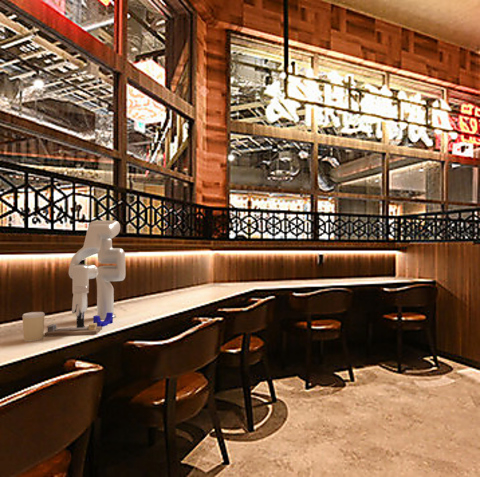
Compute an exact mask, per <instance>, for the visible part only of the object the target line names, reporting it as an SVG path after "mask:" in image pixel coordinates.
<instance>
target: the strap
mask: <svg viewBox="0 0 480 477" xmlns="http://www.w3.org/2000/svg"><path fill="white" fill-rule="evenodd" d="M87 329H89V325H85V324H84V326H83V327H77V325H76V326H58V327H57V328H56V329H55V331H64V330H87Z"/></svg>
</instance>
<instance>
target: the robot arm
mask: <svg viewBox="0 0 480 477" xmlns="http://www.w3.org/2000/svg"><path fill="white" fill-rule="evenodd" d="M120 230H121V224H120V223H119V221H117V220H92V221H91V222H89V226H88V227H87V230H86V233H85V234H86V235H85V237H84V238H85V239H84V242H83V246H82V248H80V249H79V250H77V252H76V253H74V255H72V258H71V260H70V264H69V267H68V276H69V278H70V279H72V294H73V296H72V304H71V305H72V307H71V313H72V314H75V317H76V326H77V327H83V326H84V325H85V313H86V311H88V294H89V292H90V291H89V289H90V284H89V282H90V281H89V280H93V279H96V290H97V291H96V300H97V301H96V307H97V308H96V312H97V313H96V314H95V315H94V316H100V320H105V318H106V314H107V313H108V312H109V313H113V319H114V318H116V317H117V314H116V313H114V310H115V308H114V307H115V305H114V302H115V301H114V299H115V298H114V297H115V295H114V294H115V292H114V291H115V289H114V286H113V285H112V283H111V282H123V281H124V280H125V279H126V275H127V274H126V253H125V250H124V249H123V248H120V247H113V240H112V239H113V238H115V237H116V236H118V235H119V233H120ZM96 254H97V259H98V260H97V261H98V262H99V263H100V264H103V265H101V266H96V265H95V264H80V262H82V261H84V259H86V258H88V257H91V256H93V255H96ZM105 264H111V265H105ZM112 264H114V265H112Z"/></svg>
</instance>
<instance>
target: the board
mask: <svg viewBox="0 0 480 477" xmlns="http://www.w3.org/2000/svg"><path fill="white" fill-rule="evenodd" d="M57 326H58V324H49V325H48V326H47V331H46V332H44V337H59V336H61V337H64V336H67V337H68V336H86V335H87V336H89V335H92V336H93V335H97V334H98V333H100V332H101V330H103V327H102V326H97V323H92V322H91V323H89V324H88V326H89V329H87V330H64V331H55V329H56V328H58V327H57Z"/></svg>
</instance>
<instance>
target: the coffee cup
mask: <svg viewBox="0 0 480 477" xmlns="http://www.w3.org/2000/svg"><path fill="white" fill-rule="evenodd" d="M21 317H22V329H23V341H25V342H35V341H40V339H41V340H42V339H43V338H44V330H45V329H44V328H45V317H46V314H45V312H43V311H31V312H26V313H23V314H22V316H21Z"/></svg>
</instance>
